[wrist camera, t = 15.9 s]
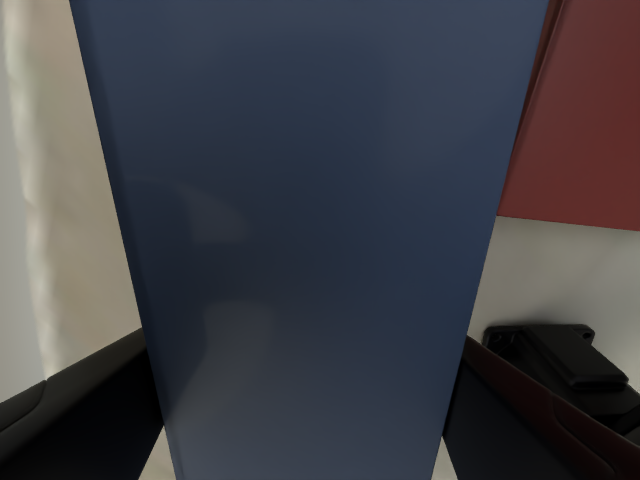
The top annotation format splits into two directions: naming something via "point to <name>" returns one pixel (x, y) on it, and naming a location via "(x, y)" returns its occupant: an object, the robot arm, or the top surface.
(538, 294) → the top surface
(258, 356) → the middle book
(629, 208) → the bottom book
